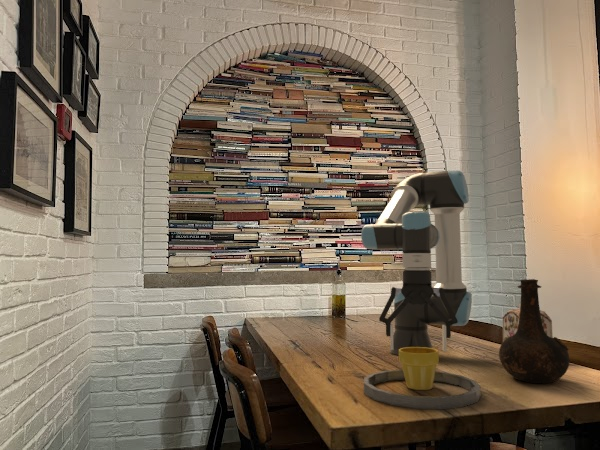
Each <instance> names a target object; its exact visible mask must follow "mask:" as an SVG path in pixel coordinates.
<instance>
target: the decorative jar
mask: <svg viewBox="0 0 600 450" xmlns="http://www.w3.org/2000/svg"><path fill="white" fill-rule="evenodd" d="M520 306H521V303H520V304H518V308H512V309H509V310H507V311H506V313H504V315H503V316H502V343H503V342H504V341H505V340H506V339H507V338H509V337H511V336H513V335H514V334H515V333H516V332H517V329H518V324H519V318H520ZM540 314H541V320H542V325H543V328H544V331H545V333H546V334H547V336H549V337H551V338H554V336H553V321H552V318H551V317H550V316H549V314H548V313H546V311H544V310H541V309H540Z"/></svg>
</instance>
